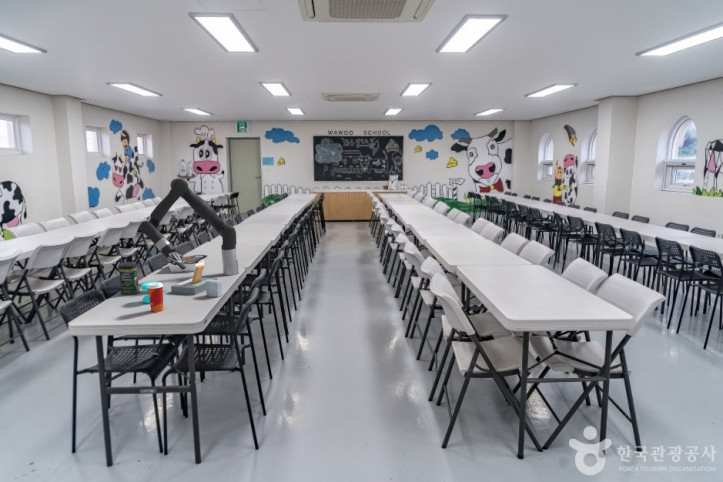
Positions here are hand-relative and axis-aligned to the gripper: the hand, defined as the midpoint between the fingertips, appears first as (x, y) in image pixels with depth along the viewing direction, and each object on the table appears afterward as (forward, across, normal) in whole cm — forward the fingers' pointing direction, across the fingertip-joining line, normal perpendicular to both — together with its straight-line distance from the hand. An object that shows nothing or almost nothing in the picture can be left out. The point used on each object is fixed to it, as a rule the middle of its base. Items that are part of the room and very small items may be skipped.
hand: (184, 268), depth 271 cm
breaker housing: (+13, 0, +4) cm, 14 cm away
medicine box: (+28, -10, -10) cm, 31 cm away
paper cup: (+18, -40, 0) cm, 43 cm away
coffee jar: (-9, -17, +27) cm, 33 cm away
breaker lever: (+11, 0, +2) cm, 11 cm away
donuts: (+8, -27, +10) cm, 30 cm away
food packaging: (-15, +45, +32) cm, 57 cm away
